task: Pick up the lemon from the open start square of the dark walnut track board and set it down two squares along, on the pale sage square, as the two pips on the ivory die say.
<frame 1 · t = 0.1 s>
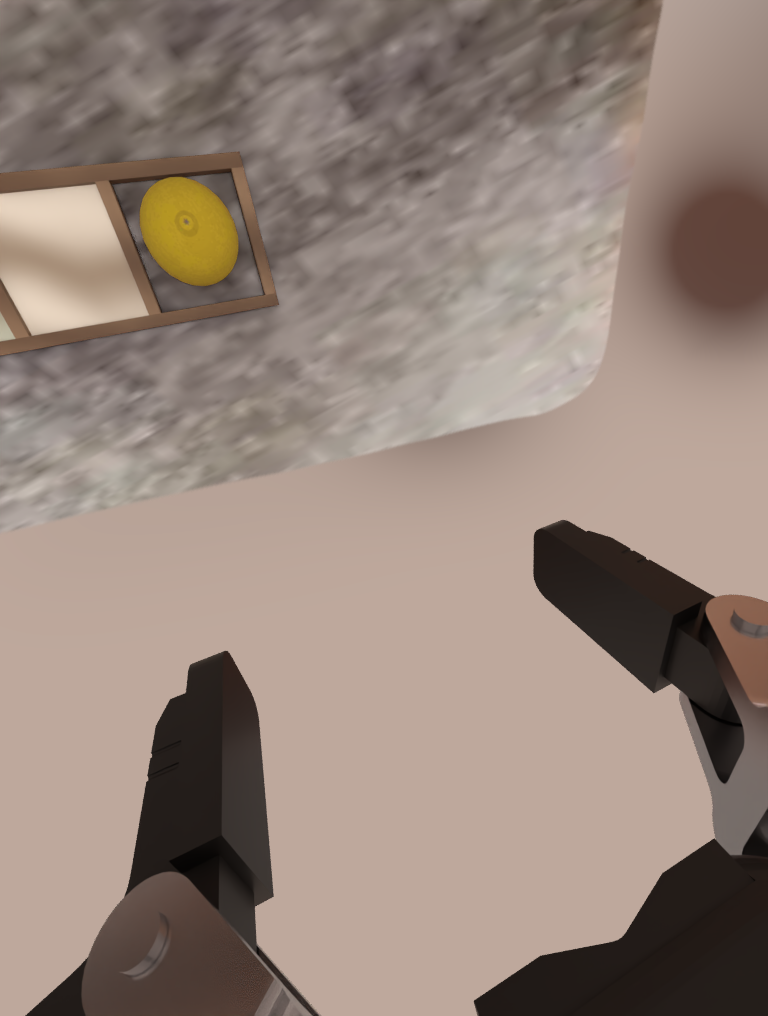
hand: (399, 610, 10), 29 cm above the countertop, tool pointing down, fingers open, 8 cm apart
track board: (64, 263, 26), on the countertop
lemon: (195, 245, 28), resting in track board
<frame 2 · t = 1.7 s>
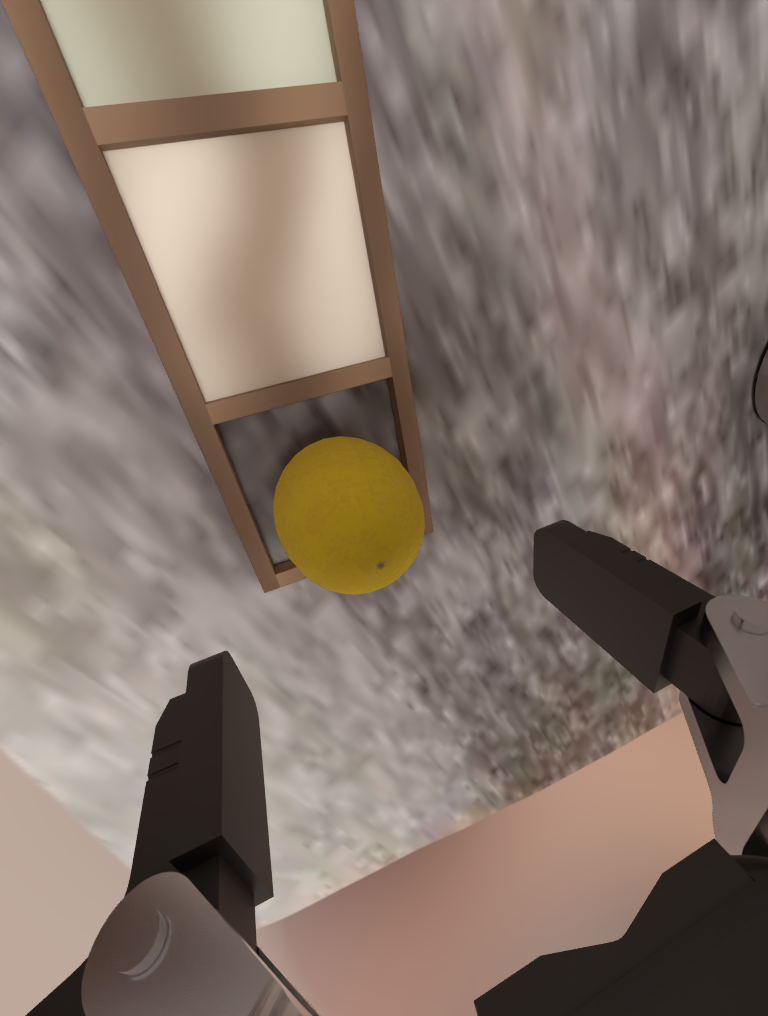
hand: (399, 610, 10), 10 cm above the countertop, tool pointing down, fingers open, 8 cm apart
track board: (269, 273, 15), on the countertop
lemon: (325, 474, 19), resting in track board
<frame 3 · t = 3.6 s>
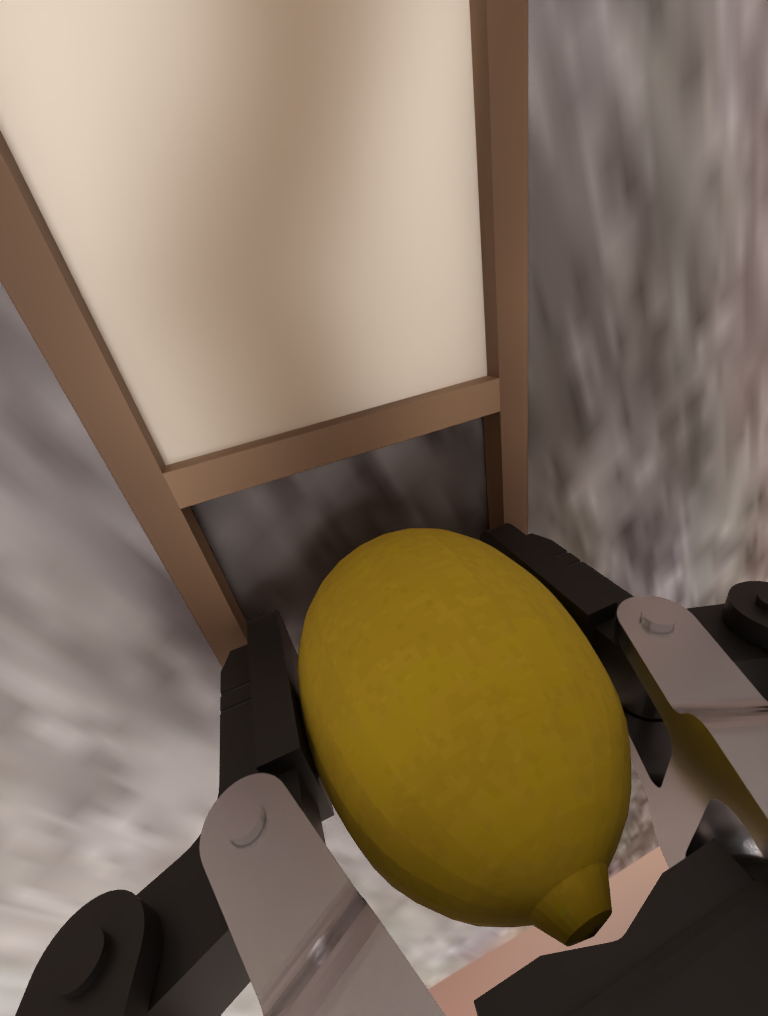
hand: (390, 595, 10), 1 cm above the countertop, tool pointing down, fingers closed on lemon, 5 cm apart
track board: (290, 214, 7), on the countertop
lemon: (373, 564, 12), resting in track board, touching gripper
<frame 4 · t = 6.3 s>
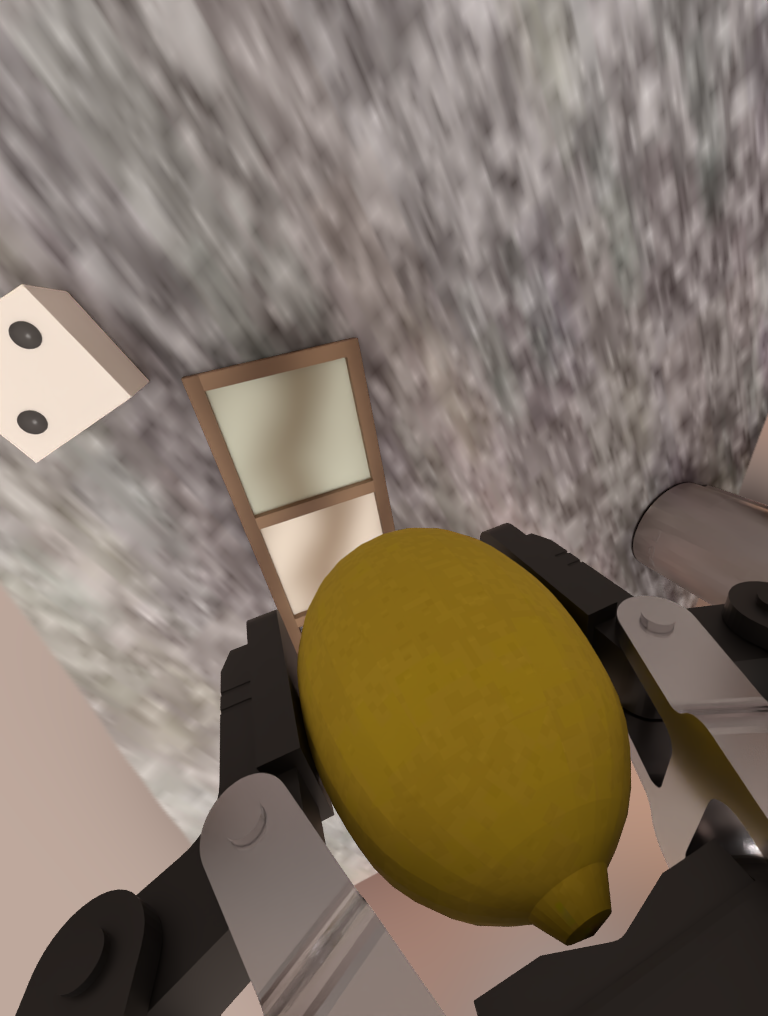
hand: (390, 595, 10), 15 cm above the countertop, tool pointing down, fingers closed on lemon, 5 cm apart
track board: (331, 552, 27), on the countertop
lemon: (373, 564, 12), point 14 cm above the countertop, touching gripper
die: (70, 367, 18), on the countertop
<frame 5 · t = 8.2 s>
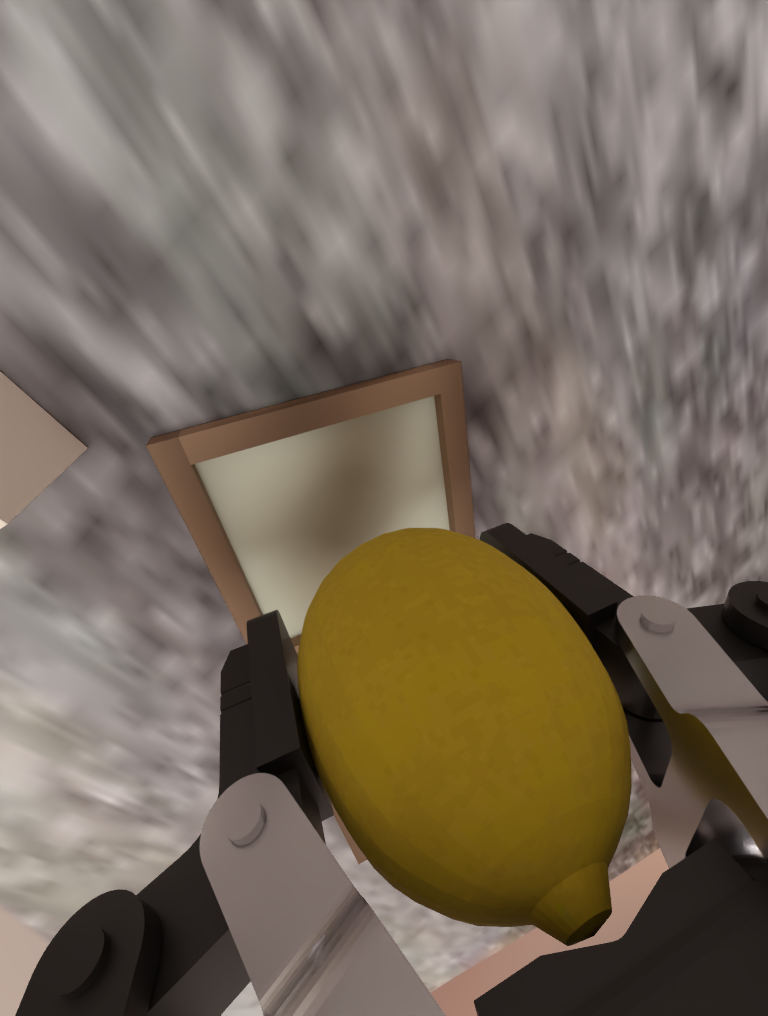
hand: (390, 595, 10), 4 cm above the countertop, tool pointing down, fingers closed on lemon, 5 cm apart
track board: (388, 675, 18), on the countertop
lemon: (373, 563, 12), point 3 cm above the countertop, touching gripper
when the fingers open (3 cm above the countertop, at t = 9.5 s): lemon drops 1 cm, resting on track board.
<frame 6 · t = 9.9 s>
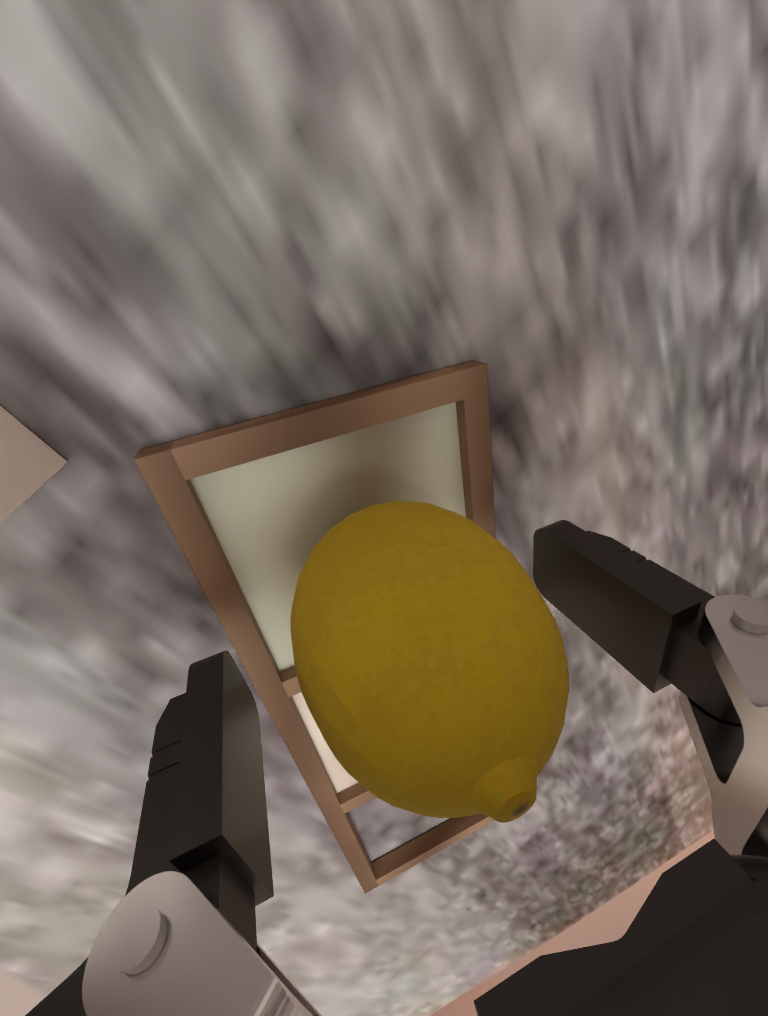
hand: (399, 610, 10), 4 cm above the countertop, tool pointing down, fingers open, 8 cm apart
track board: (398, 699, 17), on the countertop
lemon: (365, 540, 13), resting on track board
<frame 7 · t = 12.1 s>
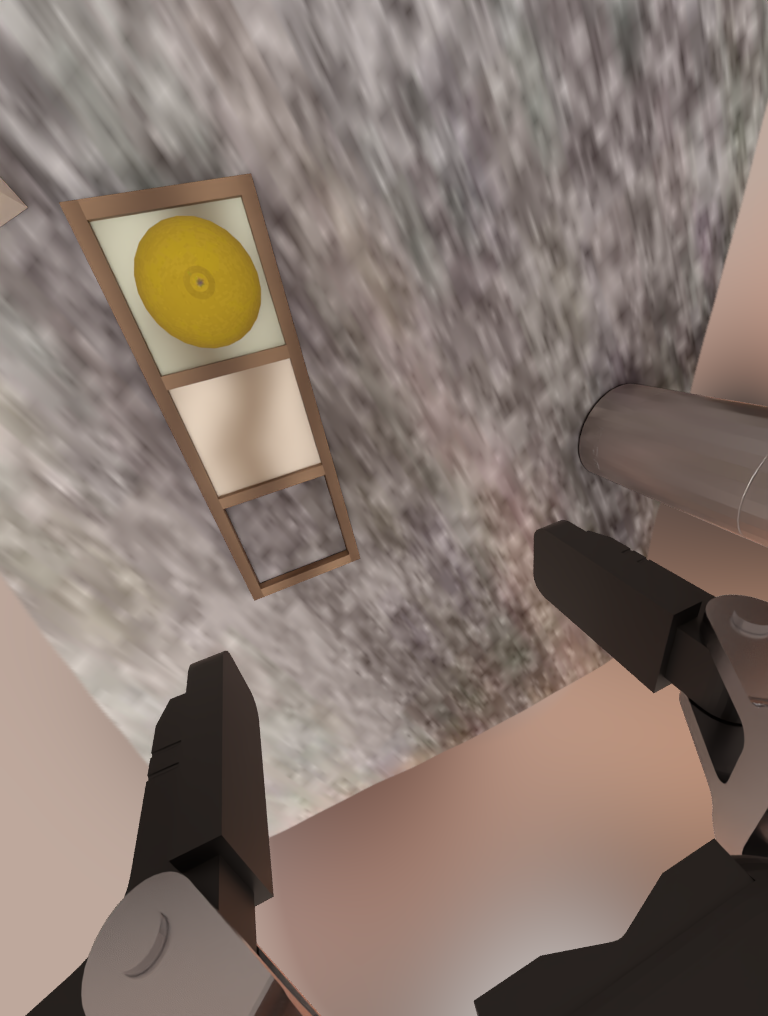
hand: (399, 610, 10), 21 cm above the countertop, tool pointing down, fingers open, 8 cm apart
track board: (252, 428, 27), on the countertop
lemon: (203, 290, 23), resting on track board
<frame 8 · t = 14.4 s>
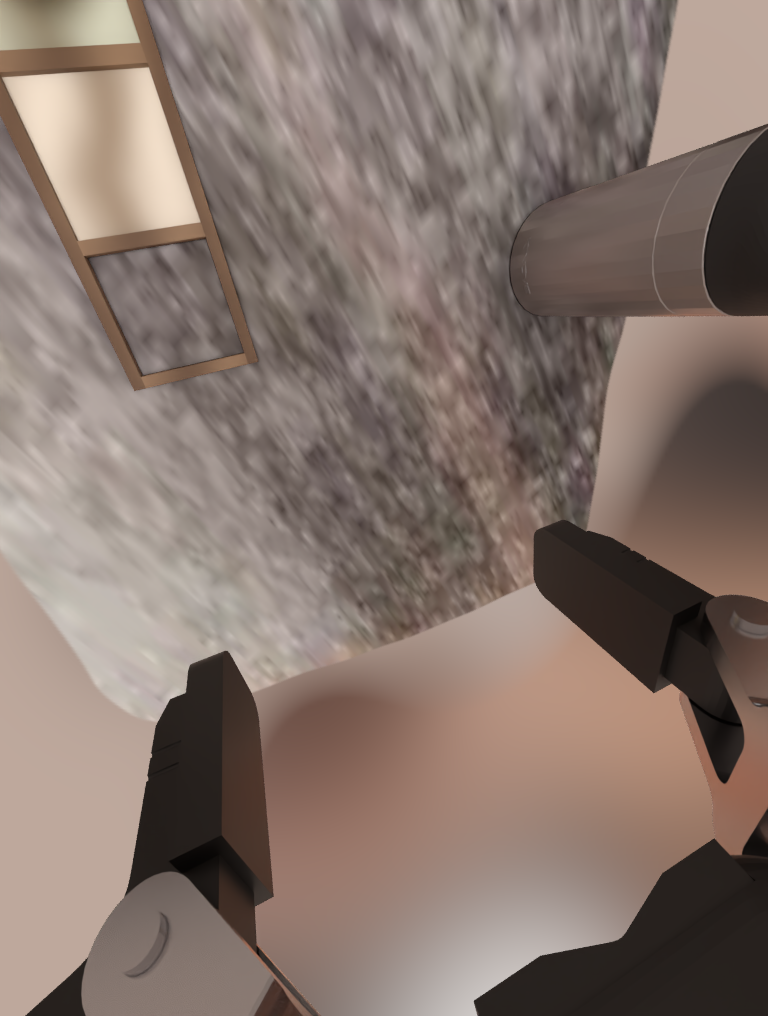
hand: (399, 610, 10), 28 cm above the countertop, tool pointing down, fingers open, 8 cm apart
track board: (113, 160, 24), on the countertop
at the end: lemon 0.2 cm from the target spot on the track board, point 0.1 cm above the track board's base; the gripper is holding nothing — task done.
